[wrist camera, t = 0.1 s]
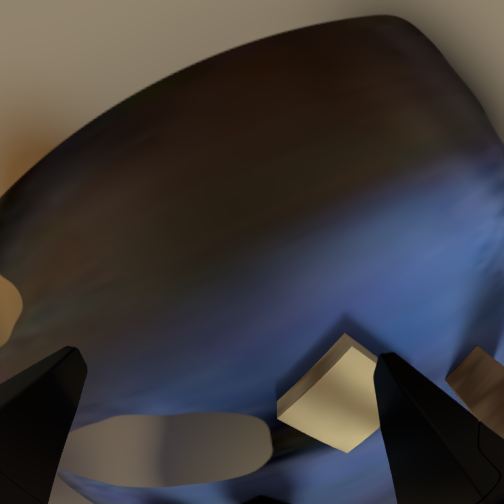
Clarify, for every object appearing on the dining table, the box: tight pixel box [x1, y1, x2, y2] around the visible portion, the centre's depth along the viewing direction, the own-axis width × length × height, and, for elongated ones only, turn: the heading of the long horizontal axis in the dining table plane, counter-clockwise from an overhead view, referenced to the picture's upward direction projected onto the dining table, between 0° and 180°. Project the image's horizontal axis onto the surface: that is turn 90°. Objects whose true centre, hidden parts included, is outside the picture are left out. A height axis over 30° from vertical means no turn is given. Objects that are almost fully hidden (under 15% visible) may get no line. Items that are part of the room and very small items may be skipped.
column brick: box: [445, 346, 504, 439], centre depth 16 cm, size 5×5×13 cm
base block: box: [277, 333, 380, 453], centre depth 23 cm, size 9×9×3 cm
